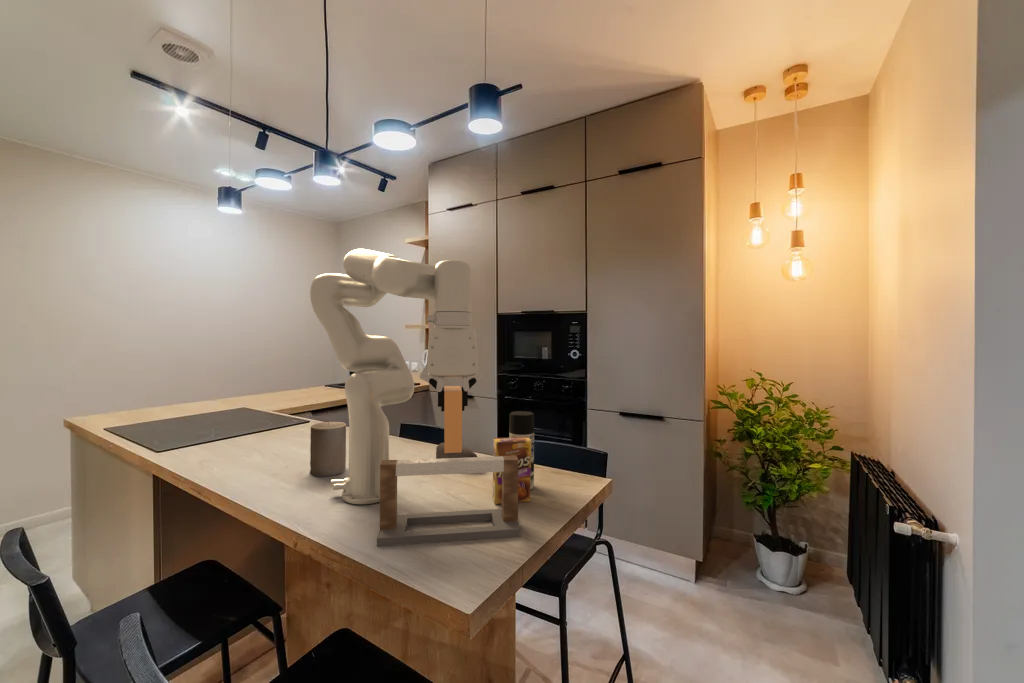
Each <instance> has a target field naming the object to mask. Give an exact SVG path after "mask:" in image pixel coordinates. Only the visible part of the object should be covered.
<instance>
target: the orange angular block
mask: <svg viewBox="0 0 1024 683" xmlns="http://www.w3.org/2000/svg"><path fill="white" fill-rule="evenodd" d="M443 412H444V417H443V418H444V427H443V428H444V429H443V430H444V432H443V433H444V436H443V438H444V453H458V452H462V447H463V441H462V440H463V411H462V387H461V385H444V411H443Z"/></svg>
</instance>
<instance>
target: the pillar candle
mask: <svg viewBox="0 0 1024 683" xmlns="http://www.w3.org/2000/svg"><path fill="white" fill-rule="evenodd" d="M309 447H310V448H309V449H310V451H309V453H310V455H309V456H310V458H309V459H310V460H309V461H310V463H309V466H310V470H309V474H310V475H311V476H313V477H320V478H321V477H331V476H336V474H337V475H339V473H340V474H342V473H344V472H346V470H347V469H346V466H347V465H346V464H347V460H346V459H347V423H345V422H342V421H329V420H327V421H326V422H317V423H314V424H312V425H311V426H310V446H309ZM343 471H344V472H343ZM341 472H342V473H341Z"/></svg>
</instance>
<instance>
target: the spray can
mask: <svg viewBox="0 0 1024 683" xmlns="http://www.w3.org/2000/svg"><path fill="white" fill-rule="evenodd" d="M508 426H509V427H508V430H509V431H508V433H509V434H508V435H509V437H508V438H514V437H528V438H529V439H530V440H531V479H530V491H532V490H533V489H534V487H535V485H534V484H535V414H534V412H532V411H526V410H525V411H523V410H518V411H517V410H515V411H511V412H510V413H509V425H508Z"/></svg>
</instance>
